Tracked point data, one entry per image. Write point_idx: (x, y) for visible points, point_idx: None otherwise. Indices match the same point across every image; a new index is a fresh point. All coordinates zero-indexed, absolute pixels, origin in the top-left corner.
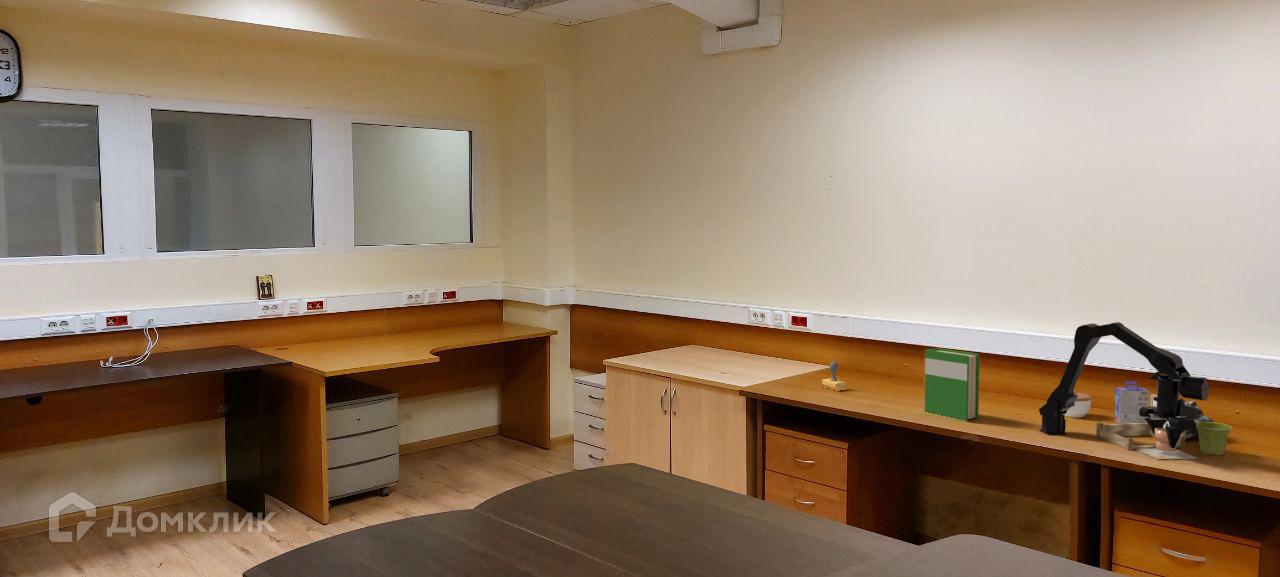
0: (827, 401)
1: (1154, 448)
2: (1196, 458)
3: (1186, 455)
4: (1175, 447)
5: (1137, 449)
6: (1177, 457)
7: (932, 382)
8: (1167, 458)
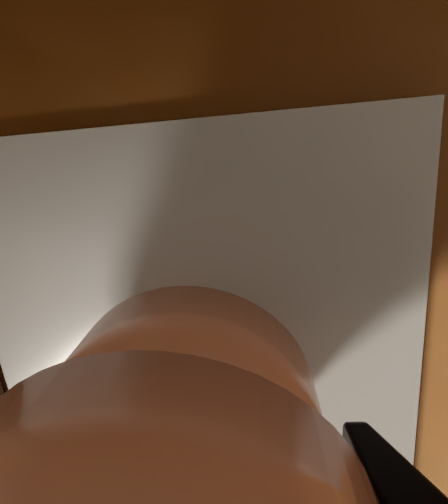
0: None
1: (5, 370)
2: (438, 98)
3: (312, 174)
4: (299, 364)
5: None
6: (389, 338)
7: None
8: (406, 452)
